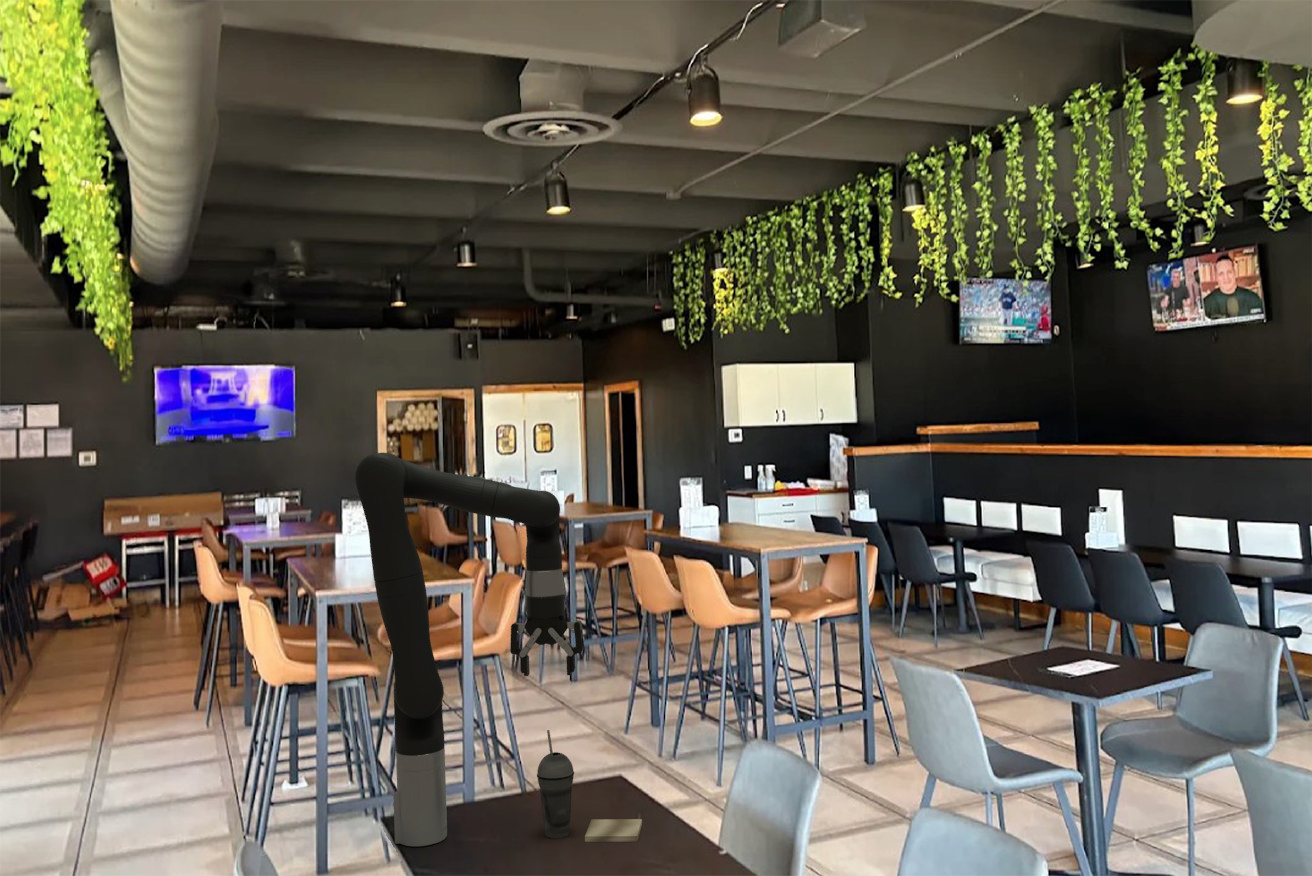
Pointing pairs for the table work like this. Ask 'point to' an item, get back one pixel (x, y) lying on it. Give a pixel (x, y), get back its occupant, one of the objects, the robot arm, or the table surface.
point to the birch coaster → (613, 830)
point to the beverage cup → (555, 792)
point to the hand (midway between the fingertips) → (548, 675)
